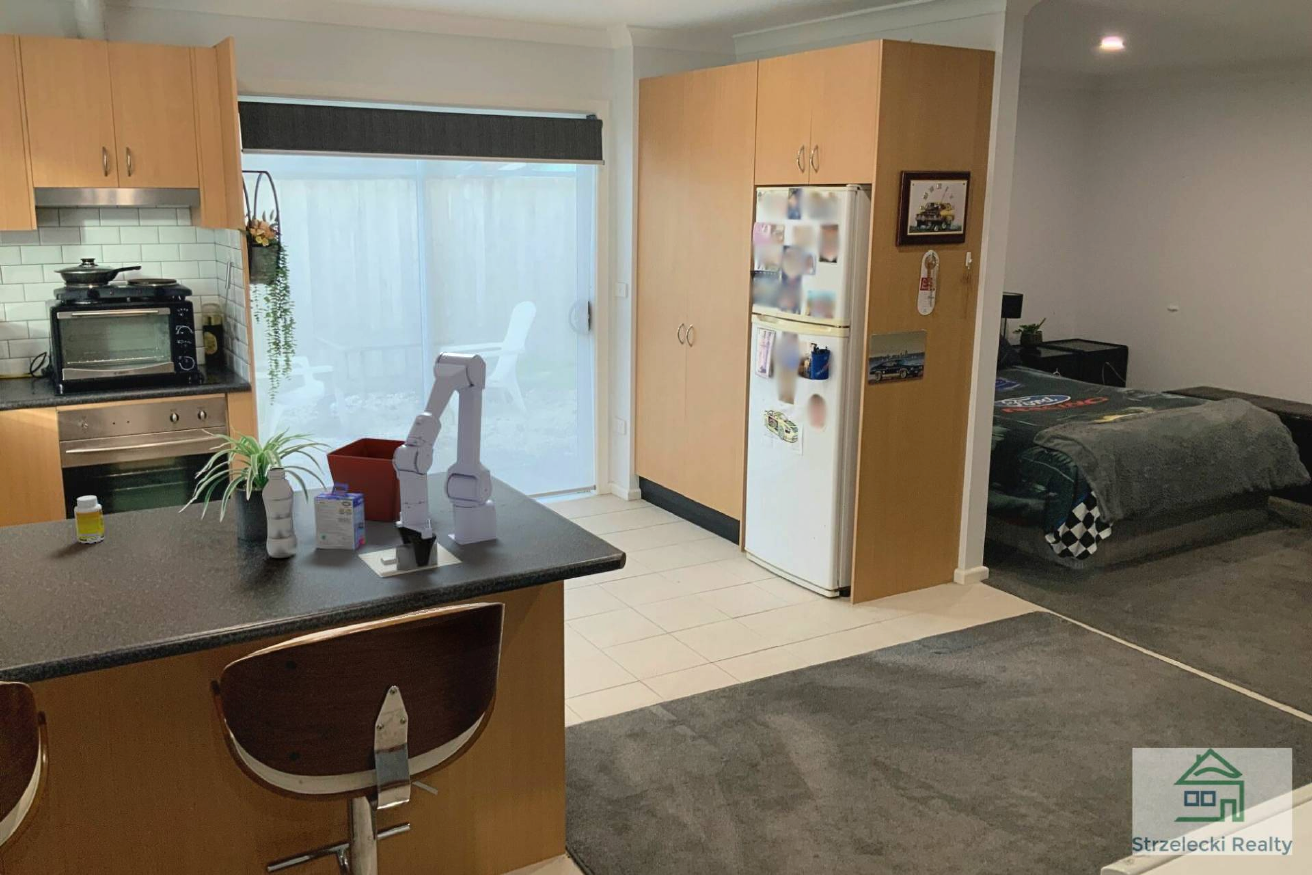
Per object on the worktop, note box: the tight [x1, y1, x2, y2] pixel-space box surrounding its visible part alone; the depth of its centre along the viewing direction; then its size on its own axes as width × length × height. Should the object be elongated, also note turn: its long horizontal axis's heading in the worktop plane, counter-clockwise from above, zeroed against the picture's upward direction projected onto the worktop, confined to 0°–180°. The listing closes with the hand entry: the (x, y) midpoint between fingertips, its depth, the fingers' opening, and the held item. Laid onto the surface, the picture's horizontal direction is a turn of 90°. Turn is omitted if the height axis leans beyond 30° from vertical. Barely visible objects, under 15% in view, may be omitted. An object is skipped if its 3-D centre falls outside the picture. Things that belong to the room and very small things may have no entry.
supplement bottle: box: [73, 495, 106, 544], centre depth 242 cm, size 6×6×10 cm
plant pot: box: [326, 437, 406, 522], centre depth 263 cm, size 19×19×17 cm
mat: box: [357, 540, 463, 578], centre depth 232 cm, size 18×16×1 cm
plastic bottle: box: [261, 466, 299, 559], centre depth 231 cm, size 6×7×20 cm
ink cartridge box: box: [313, 483, 367, 550], centre depth 239 cm, size 10×6×14 cm, turn 78°
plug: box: [381, 541, 438, 571], centre depth 226 cm, size 12×4×4 cm, turn 122°
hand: (417, 560), depth 227 cm, fingers open, 6 cm apart
